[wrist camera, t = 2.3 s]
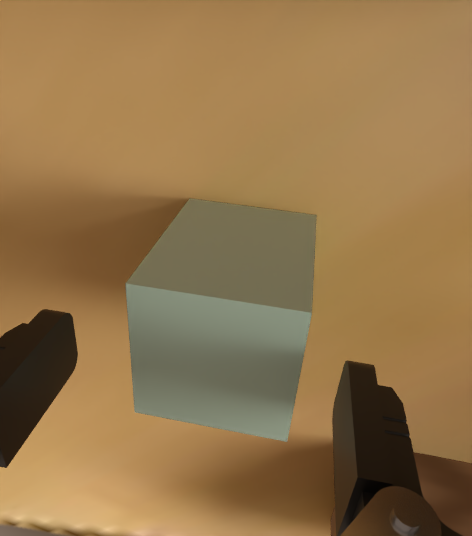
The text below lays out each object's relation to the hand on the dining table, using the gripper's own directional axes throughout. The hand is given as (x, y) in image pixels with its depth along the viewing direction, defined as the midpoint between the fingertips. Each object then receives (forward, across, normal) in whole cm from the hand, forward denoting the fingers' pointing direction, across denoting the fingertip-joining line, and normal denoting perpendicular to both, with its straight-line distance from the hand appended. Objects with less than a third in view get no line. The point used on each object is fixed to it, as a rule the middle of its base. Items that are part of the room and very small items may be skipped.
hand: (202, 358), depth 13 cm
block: (+6, 0, 0) cm, 6 cm away
